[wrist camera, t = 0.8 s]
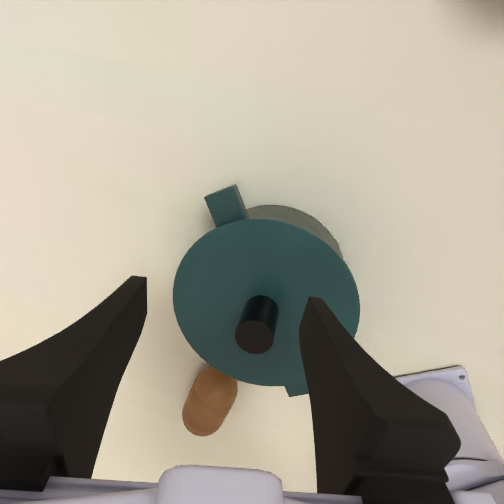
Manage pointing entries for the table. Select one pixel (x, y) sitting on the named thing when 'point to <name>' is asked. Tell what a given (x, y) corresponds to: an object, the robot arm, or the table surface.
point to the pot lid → (259, 297)
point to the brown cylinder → (209, 402)
